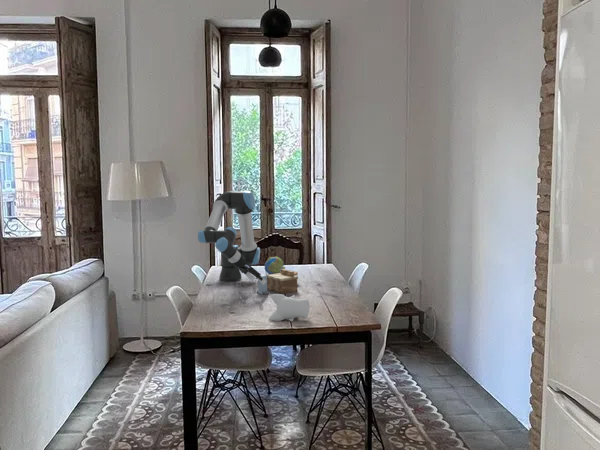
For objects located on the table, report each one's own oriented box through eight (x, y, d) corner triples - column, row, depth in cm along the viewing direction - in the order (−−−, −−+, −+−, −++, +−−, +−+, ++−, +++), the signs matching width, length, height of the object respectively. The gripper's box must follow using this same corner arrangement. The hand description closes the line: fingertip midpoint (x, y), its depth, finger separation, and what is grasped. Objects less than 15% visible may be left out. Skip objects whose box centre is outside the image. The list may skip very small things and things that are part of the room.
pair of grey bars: (256, 292, 327) (256, 290, 326) (262, 291, 329) (262, 290, 329) (263, 295, 320) (263, 293, 320) (268, 294, 323) (268, 292, 322)
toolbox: (267, 289, 336) (267, 276, 335) (283, 287, 342) (283, 274, 342) (280, 294, 323) (280, 280, 322) (297, 291, 329) (297, 278, 329)
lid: (266, 276, 335) (266, 270, 335) (283, 274, 342) (283, 268, 342) (280, 281, 321) (280, 274, 321) (298, 278, 328) (298, 271, 328)
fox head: (309, 299, 278) (270, 296, 277) (310, 294, 262) (269, 291, 262) (307, 325, 274) (268, 322, 274) (308, 321, 258) (267, 319, 258)
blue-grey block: (258, 293, 325) (257, 275, 324) (263, 292, 327) (263, 274, 326) (261, 294, 322) (261, 276, 321) (267, 293, 324) (267, 275, 323)
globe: (265, 252, 388) (272, 256, 374) (284, 257, 395) (292, 261, 381) (259, 271, 388) (267, 275, 374) (279, 275, 395) (287, 280, 381)
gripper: (222, 261, 321) (245, 282, 331) (242, 266, 300) (265, 289, 310) (230, 251, 323) (252, 273, 333) (250, 256, 303) (273, 279, 313)
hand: (259, 281), depth 322 cm, fingers open, 13 cm apart
